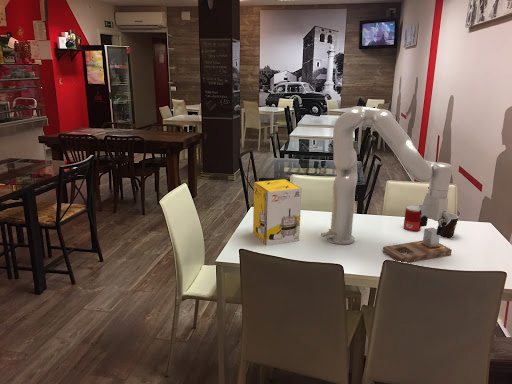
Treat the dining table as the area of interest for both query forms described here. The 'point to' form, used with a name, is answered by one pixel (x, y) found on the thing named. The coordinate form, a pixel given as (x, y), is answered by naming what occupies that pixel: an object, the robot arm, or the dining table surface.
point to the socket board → (415, 251)
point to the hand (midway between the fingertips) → (431, 230)
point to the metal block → (431, 238)
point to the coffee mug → (450, 226)
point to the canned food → (412, 218)
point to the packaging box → (276, 211)
